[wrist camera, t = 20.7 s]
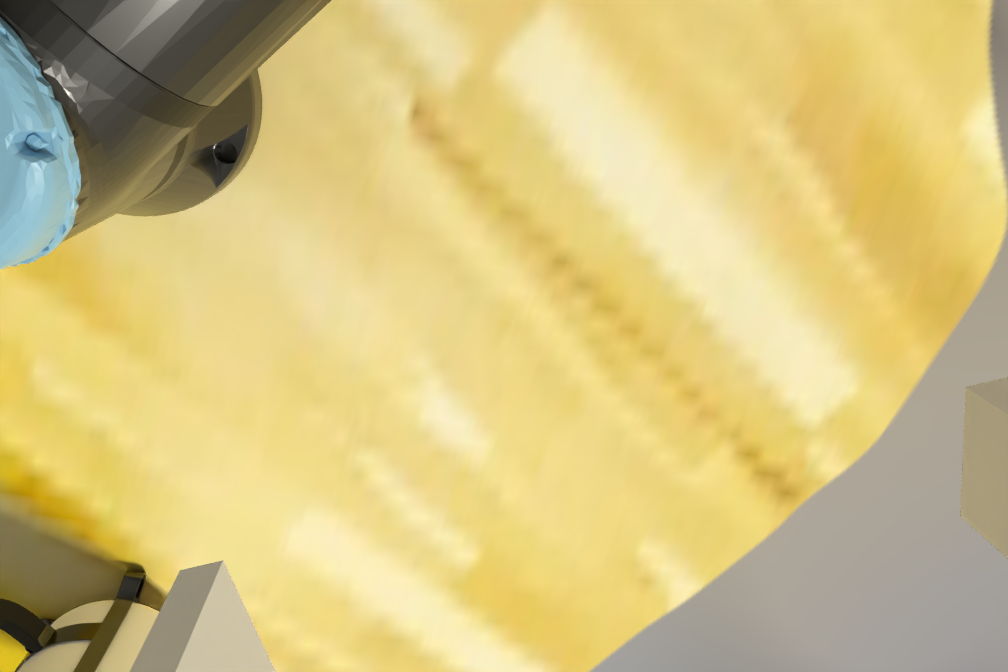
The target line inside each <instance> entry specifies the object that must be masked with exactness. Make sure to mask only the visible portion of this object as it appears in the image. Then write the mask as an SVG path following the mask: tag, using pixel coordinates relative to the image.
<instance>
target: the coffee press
mask: <svg viewBox="0 0 1008 672" xmlns="http://www.w3.org/2000/svg"><path fill="white" fill-rule="evenodd" d="M145 578H146V573H144V572H137V571H130V570H128V571H127V572H126V574H125V576H124V578H123V581H122V584H121V586H120V589H119V592H118V594H117V597H116V599H115V600H106V601H97V602H92V603H88V604H85V605H82V606H79V607H77V608H75V609H73V610H71V611H69V612H67V613H65V614H64V615H62V616H61V617H59V618H58V619H57V620H56V621H55V622H53V621H52V620H51V619H39V618H38V617H37V616H35V615H34V614H33V613H31V612H30V611H29V610H27V609H25V608H24V607H22V606H20V605H19V604H17V603H14V602H12V601H9V600H4V599H0V629H2V630H3V631H5V632H7V633H8V634H10V635H11V636H12V637H14V638H15V639H16V640H17V641H19V642H20V643H21V644H22V645H24V646H25V649H26V651H27V652H28V653H27V654H26V656H25V657H24V659H23V660H22V662H21V663H20V664H19V666H18V667H17V669H16V670H15V672H130V670H131V668H132V666H133V664H134V662H135V660H136V658H137V656H138V654H139V652H140V650H141V648H142V646H143V644H144V642H145V640H146V638H147V636H148V634H149V632H150V630H151V628H152V626H153V624H154V622H155V620H156V618H157V616H158V614H159V611H157V610H155V609H153V608H150V607H148V606H145V605H142V604H138V603H139V598H140V595H141V592H142V589H143V585H144V582H145ZM24 661H25V662H24Z"/></svg>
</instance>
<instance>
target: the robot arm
mask: <svg viewBox="0 0 1008 672" xmlns="http://www.w3.org/2000/svg"><path fill="white" fill-rule="evenodd" d="M330 1H331V0H0V270H1V269H3V268H6V267H9V266H17V265H20V264H26V263H31V262H34V261H36V260H37V259H38V258H39V257H41V256H45V255H48V254H49V253H50V252H51V251H53V250H54V249H55V248H57V247H58V246H59V245H60V244H61V242H63V241H65V240H67V239H69V238H71V237H73V236H74V235H76V234H78V233H80V232H82V231H84V230H86V229H88V228H90V227H92V226H94V225H96V224H97V223H99V222H101V221H103V220H105V219H107V218H109V217H111V216H113V215H115V214H117V213H118V214H123V215H131V216H158V215H166V214H171V213H176V212H179V211H183V210H186V209H189V208H191V207H194V206H196V205H198V204H200V203H202V202H204V201H205V200H207V199H209V198H210V197H212V196H213V195H215V194H216V193H218V192H219V191H221V190H222V189H223V188H225V187H226V186H227V185H228V184H229V183H230V182H231V181H232V180H233V179H234V178H235V177H236V176H237V175H238V174H239V173H240V171H241V170H242V169H243V167H244V166H245V164H246V163H247V161H248V159H249V157H250V155H251V153H252V151H253V149H254V146H255V144H256V141H257V138H258V134H259V130H260V124H261V116H262V94H261V86H260V80H259V75H258V71H257V69H258V68H259V67H260V66H261V65H262V64H263V63H264V62H265V61H266V60H267V59H268V58H269V57H271V56H272V55H273V54H274V53H275V52H276V51H277V50H278V49H279V48H280V47H281V46H282V45H283V44H285V43H286V42H287V41H288V40H289V39H290V38H291V37H292V36H293V35H294V34H295V33H296V32H298V31H299V30H300V29H301V28H302V27H303V26H304V25H305V24H306V23H307V22H308V21H309V20H311V19H312V18H313V17H314V16H315V15H316V14H317V13H318V12H319V11H320V10H321V9H322V8H324V7H325V6H326V5H327V4H328V3H329V2H330ZM963 438H964V439H963V462H962V463H963V464H962V488H961V511H960V516H961V517H962V518H963V519H964V520H965V521H967V522H968V523H969V524H970V525H971V526H972V527H973V528H974V529H975V530H976V531H978V532H979V533H980V534H981V535H982V536H983V537H984V538H985V539H986V540H988V541H989V542H990V543H991V544H992V545H993V546H994V547H995V548H996V549H997V550H998V551H1000V552H1001V553H1002V554H1003V555H1004V556H1005V557H1006V558H1007V559H1008V378H1003V379H998V380H994V381H990V382H986V383H982V384H977V385H973V386H969V387H966V388H965V412H964V437H963ZM130 672H276V671H275V669H274V667H273V665H272V663H271V661H270V658H269V656H268V654H267V652H266V650H265V648H264V646H263V644H262V642H261V639H260V637H259V635H258V633H257V631H256V629H255V627H254V625H253V623H252V621H251V618H250V616H249V614H248V612H247V610H246V608H245V606H244V604H243V602H242V599H241V597H240V595H239V593H238V591H237V589H236V587H235V585H234V583H233V580H232V578H231V576H230V574H229V572H228V570H227V568H226V566H225V564H224V561H219V562H214V563H210V564H206V565H202V566H197V567H193V568H189V569H184V570H180V572H179V574H178V576H177V578H176V580H175V582H174V584H173V586H172V588H171V590H170V592H169V594H168V596H167V598H166V600H165V602H164V604H163V606H162V608H161V610H160V612H159V614H158V616H157V618H156V620H155V622H154V624H153V626H152V628H151V630H150V632H149V634H148V636H147V638H146V640H145V642H144V644H143V646H142V648H141V650H140V652H139V654H138V656H137V658H136V660H135V662H134V664H133V666H132V668H131V670H130Z"/></svg>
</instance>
